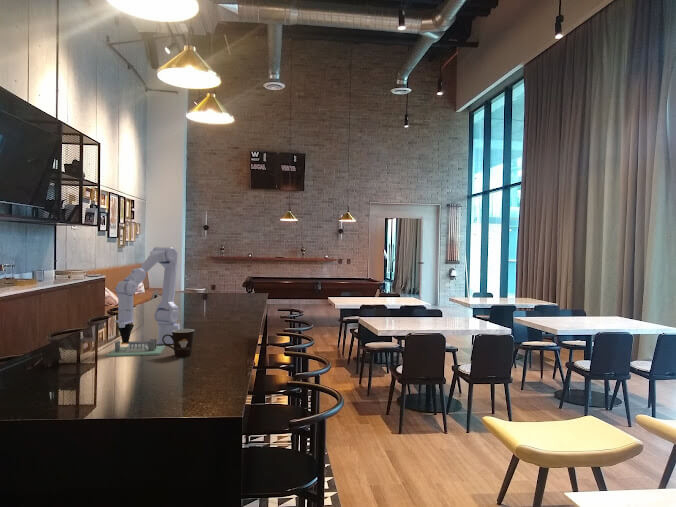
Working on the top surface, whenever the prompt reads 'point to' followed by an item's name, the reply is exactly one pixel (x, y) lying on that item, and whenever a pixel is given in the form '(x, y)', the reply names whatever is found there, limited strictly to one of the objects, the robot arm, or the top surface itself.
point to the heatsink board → (136, 349)
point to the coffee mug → (181, 342)
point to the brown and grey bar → (136, 342)
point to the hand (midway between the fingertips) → (125, 342)
